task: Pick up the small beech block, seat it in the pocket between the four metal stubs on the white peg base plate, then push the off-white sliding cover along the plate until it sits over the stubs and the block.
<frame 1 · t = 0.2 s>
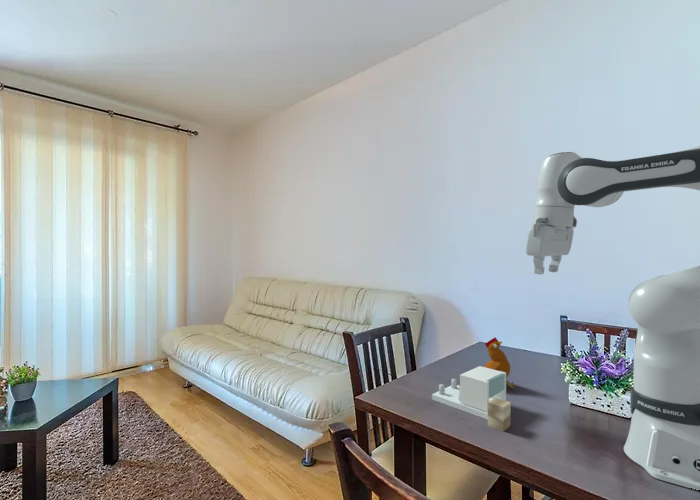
hand: (546, 273, 96), 38 cm above the table, tool pointing down, fingers open, 8 cm apart
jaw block: (499, 426, 95), on the table
toy: (491, 386, 121), on the table
cover: (483, 387, 105), point 6 cm above the table, slide at 0.0 cm
white peg base plate: (470, 403, 108), on the table
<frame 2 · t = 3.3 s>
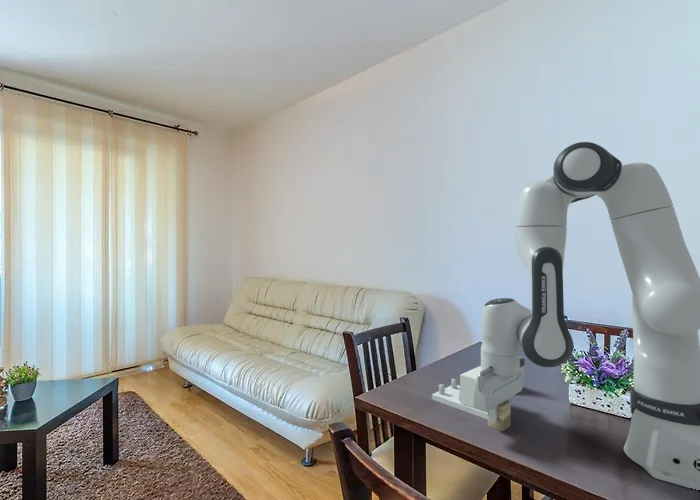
hand: (499, 417, 95), 2 cm above the table, tool pointing down, fingers closed on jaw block, 4 cm apart
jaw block: (499, 425, 95), on the table, touching gripper
everything else where it was.
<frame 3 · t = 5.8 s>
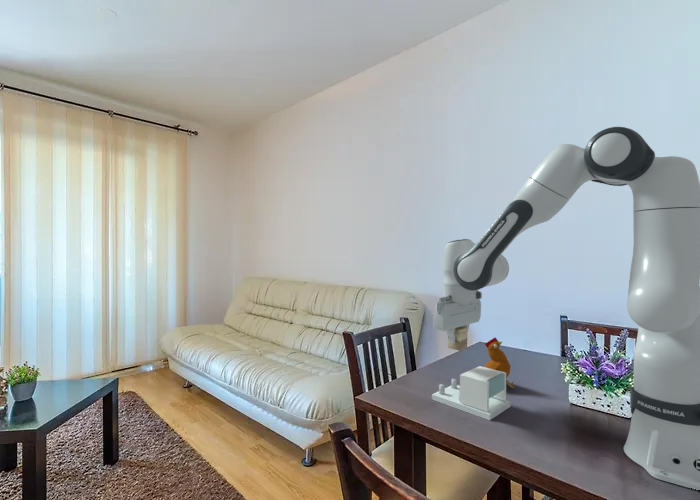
hand: (457, 341, 111), 17 cm above the table, tool pointing down, fingers closed on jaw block, 4 cm apart
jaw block: (457, 348, 111), point 15 cm above the table, touching gripper
everything else where it was.
when the fingers open (6 cm above the table, at t = 8.2 s): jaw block drops 2 cm, resting on white peg base plate.
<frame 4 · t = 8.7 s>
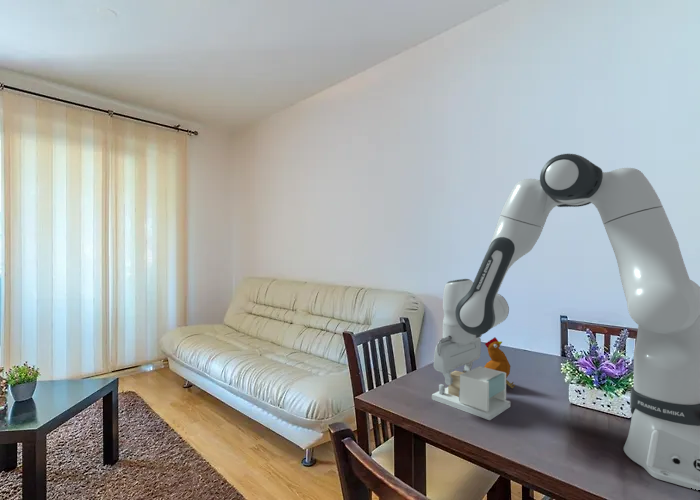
hand: (458, 380, 111), 6 cm above the table, tool pointing down, fingers open, 8 cm apart
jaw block: (457, 393, 111), point 1 cm above the table, touching white peg base plate
everything else where it was.
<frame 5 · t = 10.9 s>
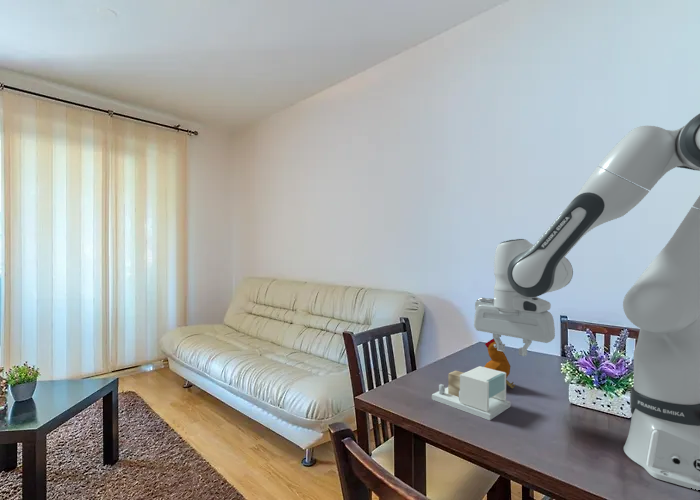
hand: (511, 353, 99), 17 cm above the table, tool pointing down, fingers open, 4 cm apart
nothing on the table moved.
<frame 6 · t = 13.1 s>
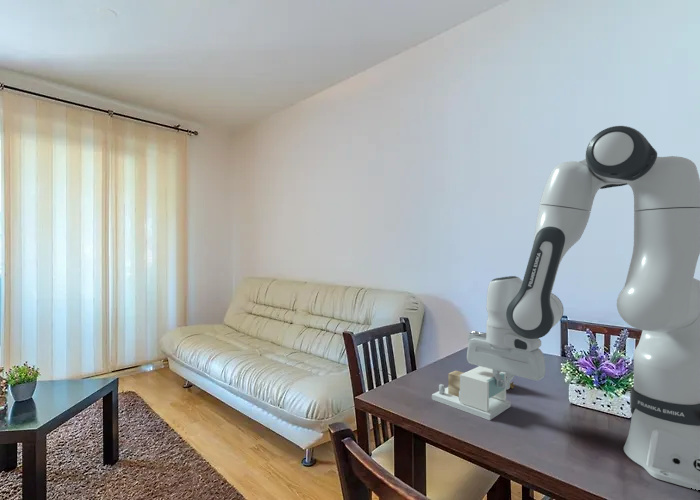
hand: (503, 387, 101), 7 cm above the table, tool pointing down, fingers closed
cover: (483, 387, 105), point 6 cm above the table, slide at 0.0 cm, touching gripper
everything else where it was.
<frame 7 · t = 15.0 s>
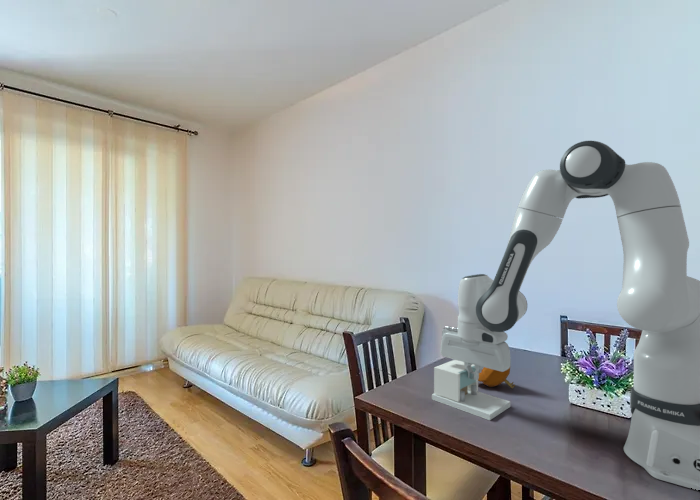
hand: (473, 378, 107), 7 cm above the table, tool pointing down, fingers closed
cover: (456, 379, 112), point 6 cm above the table, slide at 8.6 cm, touching gripper
everything else where it was.
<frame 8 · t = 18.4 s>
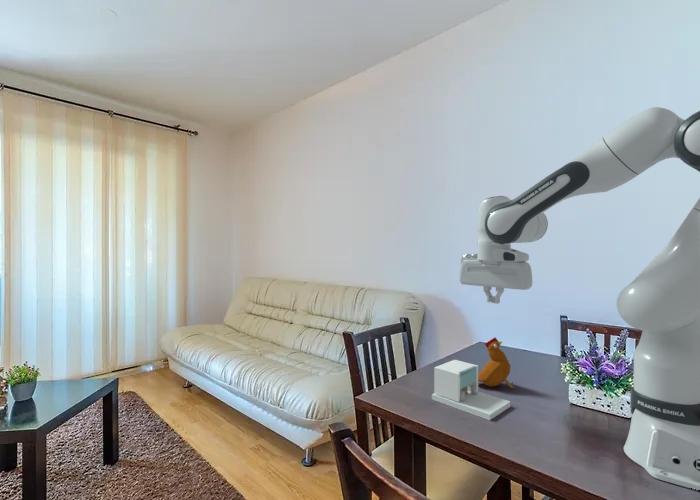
hand: (493, 302, 107), 29 cm above the table, tool pointing down, fingers closed
cover: (456, 379, 111), point 6 cm above the table, slide at 8.5 cm
everything else where it was.
at the end: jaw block 0.0 cm from the target spot on the white peg base plate, point 1.5 cm above the white peg base plate's base; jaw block tilted 0°; cover slide at 8.5 cm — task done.
